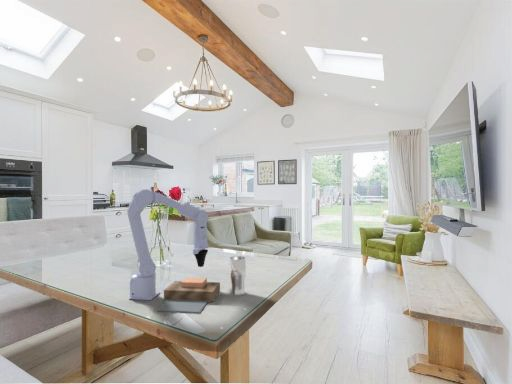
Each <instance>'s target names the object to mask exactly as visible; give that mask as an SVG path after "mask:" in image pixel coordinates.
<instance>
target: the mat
mask: <svg viewBox="0 0 512 384" xmlns="http://www.w3.org/2000/svg"><path fill="white" fill-rule="evenodd" d="M208 303H209V302H208V301H204V300H180V299H168V300H165V301H164V302H163V304H162V305H160V306H159V307H158V308H157V309H156V312H163V313H165V312H166V313H182V314H183V313H185V314H187V313H188V314H200V313H201V312H202V310H204V308H205V307H206V306H207V304H208Z"/></svg>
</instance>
